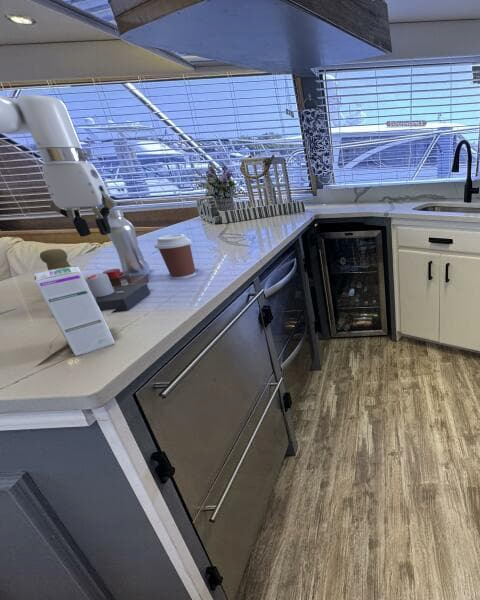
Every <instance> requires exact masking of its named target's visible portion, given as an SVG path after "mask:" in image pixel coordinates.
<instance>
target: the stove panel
mask: <svg viewBox="0 0 480 600" xmlns="http://www.w3.org/2000/svg"><path fill="white" fill-rule="evenodd" d="M147 283H148V282H147ZM147 283H145V284H136V285H126V286H116V287H113V289H114V292H113V293H112V294H109V295H106V296H102V297H94V298H95V300H96V302H97V304H98V306H99V309H100V311H101V312H102V311H108V310H113V311H111V312H110V313H120V312H121V313H122V312H129V311H130V310H132V309H133V308H134V307H135V306H138V304H139V303H141V302H142V301H143V300H145V299H146V298H147V297H149V296H150V295H151V292H150V289H149V286H148V284H147Z"/></svg>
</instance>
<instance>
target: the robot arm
mask: <svg viewBox="0 0 480 600" xmlns="http://www.w3.org/2000/svg"><path fill="white" fill-rule="evenodd" d="M0 134H6V135H24V134H25V135H26V134H30V135H31V137H32V139H33V141H34V144H35V146H36V149H37V151H38V153H39V156H40V157H41V160H42V163H43V164H41V169H42V174H43V179H44V182H45V185H46V188H47V191H48V193H49V196H50V198H51V201H50V204H49V209H50V210H51V211H53V212H56V213H58V214H61V215H62V216H63V217H66V218H67V219H68V221H71V222H72V224H73V226H74V228H75V231H76V232H77V233H78V234H79V236H80V237H82V238H83V237H86V236H90V235H91V234H92V232H91V229H90V228H89V225H88V223H87V220H86V219H85V218H82V213H81V208H89V207H90V209H91V210H92V212H93V214H94V215H95V217H96V218H95V224H96V226H97V229H98V230H99V234H100V235H101V236H105V235H108V234H109V233H111V228H110V225H109V222H108V220H109V219H108V218H107V217H108V215H109V213H110V212H111V210H114V209H115V208H116V207H117V206H118V203H117V201H115V200H114V199H113V198H112V197H111V196H110V194H109V191H108V189H107V186H106V184H105V182H104V181H103V178H102V177H101V175H100V173H99V172H98V170H97V168H96V166H95V165H94V164H93V163H92V162H88V158H91V157H92V154H91V153H90V152H89V151H88V150H87V151H85V150H84V149H83V147H82V145H81V142H80V140H79V137H78V135H77V132H76V130H75V127H74V124H73V121H72V119H71V117H70V114H69V112H68V109H67V107H66V105H65V104H64V102H63V101H62V100H61V99H59V98H57V97H54V96H49V95H45V94H44V95H42V94H23V95H19V96H18V97H17V98H14V97H8V96H4V95H1V94H0Z"/></svg>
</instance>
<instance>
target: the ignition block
mask: <svg viewBox="0 0 480 600" xmlns="http://www.w3.org/2000/svg"><path fill="white" fill-rule="evenodd" d="M121 274H122V275H120V276H117V277H112V278H109V280H110V282H111V285H112V287H116V286H126V285H136V284H145V283H149V278H148V276H147V275H148V274H147V275H136V276H129V273H128V272H122V271H121Z"/></svg>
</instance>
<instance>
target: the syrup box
mask: <svg viewBox="0 0 480 600" xmlns="http://www.w3.org/2000/svg"><path fill="white" fill-rule="evenodd" d="M84 277H85V276H84V275H83V273H82V271H81V269H80V267H79V266H77V265H75V266H74V265H73V266H71V267H64V268H58V269H53V270H49V271H48V270H46V271H41V272H37V273H34V278H33V280H34V284H35V286H36V287H37V289H38V291H39V292H40V293H39V294H41V296H42V298H43V301H44V302H45V304H46V306H47V308H48V310H49V311H50V313H51V315H52V317H53V318H54V321H55V322H56V324H57V326H58V328H59V330H60V332H61V333H62V335H63V337H64V339H65V340H66V342H67V344H68V346H69V348H70V350H71V351H72V353H73V355H74V356H76V357H77V356H81V355H85V354H88V353H92V352H94V351H97V350H100V349H101V350H102V349H103V348H107V347H109V346H112V345H115V340H114V337H113V334H112V333H111V330H110V328H109V326H108V324H107V322H106V320H105V317H104V316H103V313H102V310H101V311H100V309H99V306H98V304H97V302H96V300H95V298H94V296H93V294H92V292H91V290H90V288H89V287H88V285H87V283H86V281H85V279H84Z"/></svg>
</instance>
